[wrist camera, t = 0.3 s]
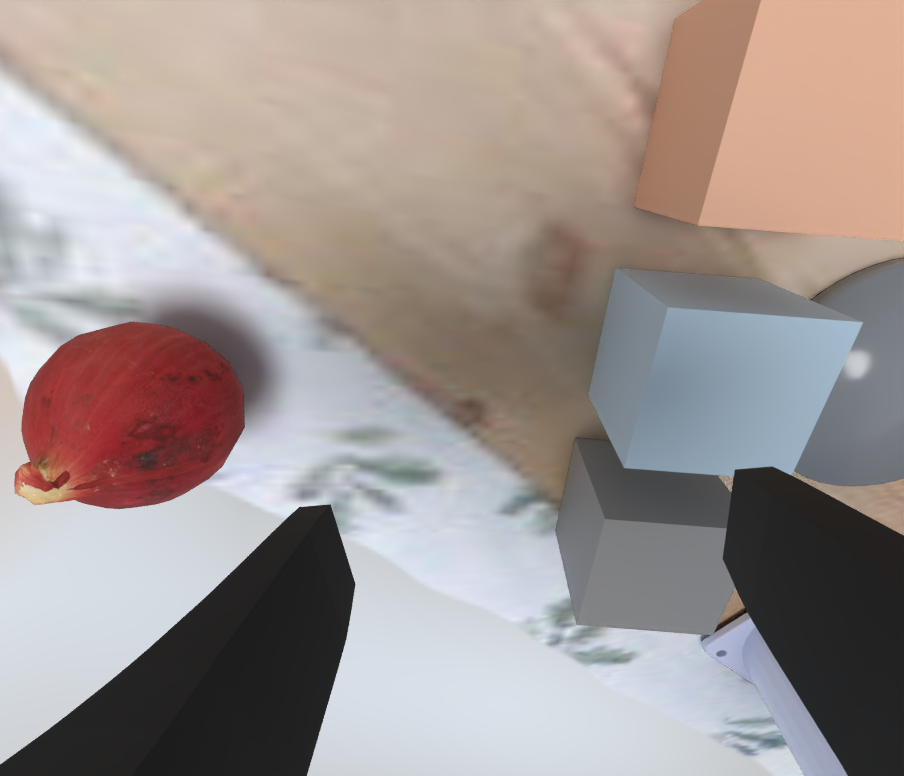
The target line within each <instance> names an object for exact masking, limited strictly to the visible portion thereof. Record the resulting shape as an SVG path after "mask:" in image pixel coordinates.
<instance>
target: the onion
mask: <svg viewBox="0 0 904 776" xmlns="http://www.w3.org/2000/svg"><path fill="white" fill-rule="evenodd" d="M244 428H245V422H244V395H243V387H242V385H241V384H240V382H239V380H238V378H237V377H236V375H235V373H234V371H233V369H232V368H231V366H230V364H229V362H228V361H226V360H225V359H224V358H223V357H222V356H220V355H219V354H218V353H217V352H216V351H215V350H213V349H212V348H211V347H210V346H209V345H207V344H206V343H205V342H203V341H201V340H198V339H196V338H194V337H192V336H190V335H188V334H186V333H184V332H181V331H179V330H177V329H174V328H171V327H169V326H164V325H155V324H147V323H139V322H128V323H124V324H120V325H116V326H111V327H108V328H104V329H100V330H96V331H92V332H89V333H85V334H81V335H78V336H76V337H75V338H73V339H71V340H70V341H68V342H67V343H65V344H63V345H62V346H60V347H59V348H58V350H57V351H56V352H55V353H54V354H53V355H52V356H51V357H50V358H49V359H48V361H47V362H46V363H45V364H44V365H43V366H42V367H41V368H40V369H39V371H38V372H37V374H36V375H35V377H34V378H33V380H32V381H31V383H30V385H29V388H28V391H27V394H26V397H25V402H24V409H23V416H22V436H23V441H24V444H25V447H26V450H27V453H28V456H29V459H30V461H31V462H28V463H26V464H23V465H21V466H20V468H19V469H18V470H17V471H16V473H15V494H17V495H19V496H22V497H24V498H26V499H27V500H29V501H30V502H31V503H32V504H34V505H40V504H47V503H54V502H64V501H70V500H76V501H78V502H81V503H84V504H89V505H94V506H99V507H104V508H113V509H123V508H133V507H141V506H148V505H155V504H159V503H162V502H166V501H169V500H172V499H174V498H176V497H178V496H180V495H182V494H185V493H186V492H188V491H190V490H191V489H193V488H195V487H196V486H198V485H199V484H201V483H203V482H204V481H206V480H208V479H209V478H210V477H211V476H212V475H213V474H215V473H216V472H217V471H218V470H219V469H220V468H221V467H222V466H223V465H224V463H225V461H226V459H227V458H228V456H229V454H230V452H231V451H232V449H233V447H234V445H235V444H236V442H237V440H238V438H239V437H240V435H241V433H242V431H243V429H244Z"/></svg>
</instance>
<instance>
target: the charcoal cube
mask: <svg viewBox="0 0 904 776" xmlns="http://www.w3.org/2000/svg"><path fill="white" fill-rule="evenodd" d="M730 500H731V492H730V491H729V490H728V488H727V487H726V486H725V485H724V483H723V482H722V481H721V479H720V478H719V477H718V476H717V475H708V474H695V473H682V472H670V471H657V470H644V469H631V468H624V467H623V465H622V463H621V461H620V459H619V457H618V455H617V453H616V451H615V449H614V447H613V445H612V443H611V441H608V440H595V439H582V438H575V440H574V445H573V450H572V454H571V459H570V464H569V468H568V473H567V478H566V483H565V487H564V492H563V497H562V501H561V506H560V511H559V515H558V520H557V525H556V529H555V531H556V535H557V540H558V544H559V549H560V553H561V557H562V562H563V566H564V571H565V575H566V580H567V584H568V588H569V593H570V597H571V602H572V606H573V611H574V615H575V619H576V624H577V625H586V626H599V627H612V628H624V629H637V630H650V631H663V632H675V633H688V634H701V635H713V634H714V632H715V629H716V627H717V625H718V623H719V621H720V619H721V616H722V614H723V612H724V610H725V608H726V606H727V603H728V601H729V599H730V597H731V595H732V593H733V590H734V588H735V585H734V583H733V581H732V579H731V576H730V574H729V572H728V570H727V568H726V565H725V563H724V561H723V551H724V544H725V537H726V530H727V522H728V515H729V508H730Z"/></svg>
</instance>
